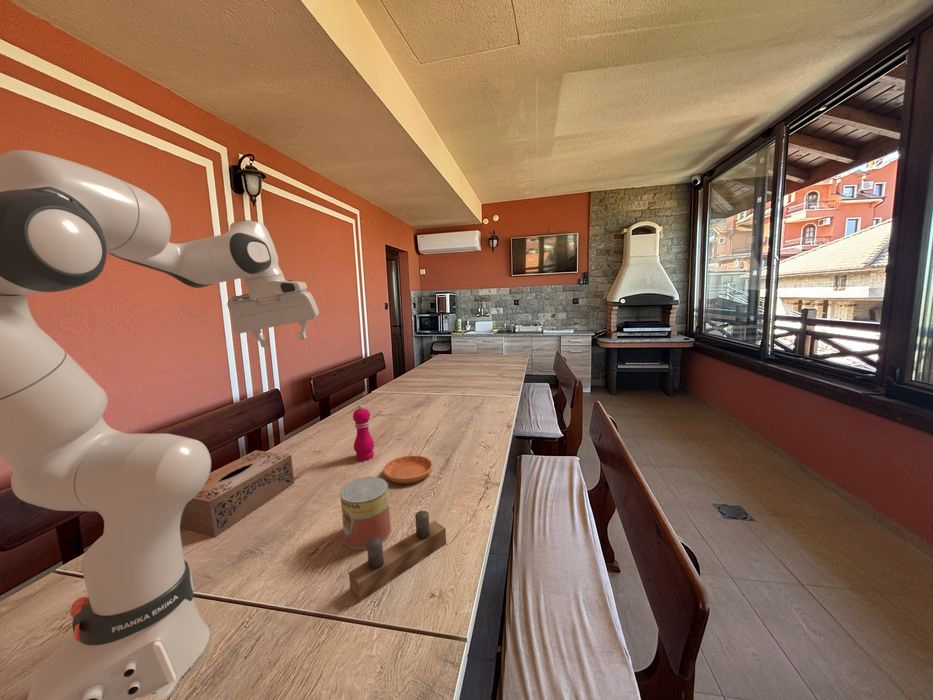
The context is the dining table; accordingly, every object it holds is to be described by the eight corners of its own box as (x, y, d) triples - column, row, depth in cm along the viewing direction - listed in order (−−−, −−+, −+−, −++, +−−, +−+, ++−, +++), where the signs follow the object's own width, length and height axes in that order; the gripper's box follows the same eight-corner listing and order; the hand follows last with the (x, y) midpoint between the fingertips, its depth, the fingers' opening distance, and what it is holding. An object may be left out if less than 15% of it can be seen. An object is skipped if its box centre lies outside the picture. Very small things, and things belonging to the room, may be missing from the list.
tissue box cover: (215, 538, 88) (209, 501, 86) (175, 528, 92) (169, 493, 91) (294, 484, 112) (291, 455, 110) (260, 478, 116) (256, 450, 115)
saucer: (381, 468, 121) (380, 460, 120) (426, 459, 126) (425, 451, 126) (387, 492, 106) (387, 483, 105) (438, 480, 111) (438, 472, 111)
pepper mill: (369, 462, 125) (365, 408, 121) (350, 461, 126) (346, 407, 123) (378, 453, 132) (374, 402, 128) (360, 452, 133) (356, 401, 130)
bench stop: (360, 601, 68) (356, 560, 66) (350, 589, 71) (346, 549, 69) (446, 543, 83) (444, 508, 81) (435, 535, 86) (433, 501, 84)
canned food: (336, 532, 88) (332, 488, 86) (377, 513, 95) (374, 472, 93) (356, 556, 80) (351, 508, 78) (399, 533, 87) (396, 488, 85)
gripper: (218, 298, 84) (237, 353, 87) (304, 282, 86) (320, 336, 89) (231, 296, 90) (249, 348, 93) (312, 281, 92) (326, 332, 95)
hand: (284, 342), depth 91 cm, fingers open, 8 cm apart
